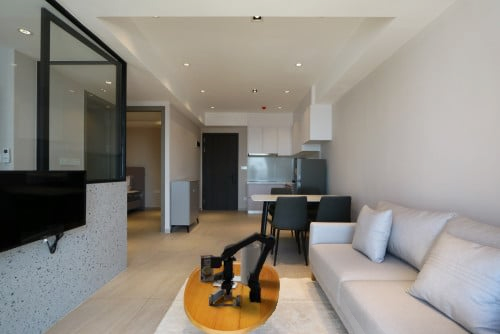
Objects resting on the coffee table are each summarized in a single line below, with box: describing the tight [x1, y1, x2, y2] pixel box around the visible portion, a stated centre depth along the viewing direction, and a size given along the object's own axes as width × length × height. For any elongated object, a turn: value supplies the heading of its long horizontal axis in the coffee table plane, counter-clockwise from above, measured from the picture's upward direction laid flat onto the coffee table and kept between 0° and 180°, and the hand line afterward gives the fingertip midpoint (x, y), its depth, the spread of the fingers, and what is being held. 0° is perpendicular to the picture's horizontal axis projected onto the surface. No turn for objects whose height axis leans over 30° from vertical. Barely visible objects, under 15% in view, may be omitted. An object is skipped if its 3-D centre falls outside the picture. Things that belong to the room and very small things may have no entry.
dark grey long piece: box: [208, 293, 242, 309], centre depth 155 cm, size 18×4×6 cm, turn 88°
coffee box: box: [199, 254, 215, 283], centre depth 191 cm, size 9×6×16 cm
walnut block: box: [223, 288, 233, 301], centre depth 165 cm, size 4×4×4 cm
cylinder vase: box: [240, 242, 260, 286], centre depth 188 cm, size 12×12×25 cm
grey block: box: [212, 287, 225, 303], centre depth 163 cm, size 12×2×5 cm, turn 153°
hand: (227, 294), depth 161 cm, fingers closed
